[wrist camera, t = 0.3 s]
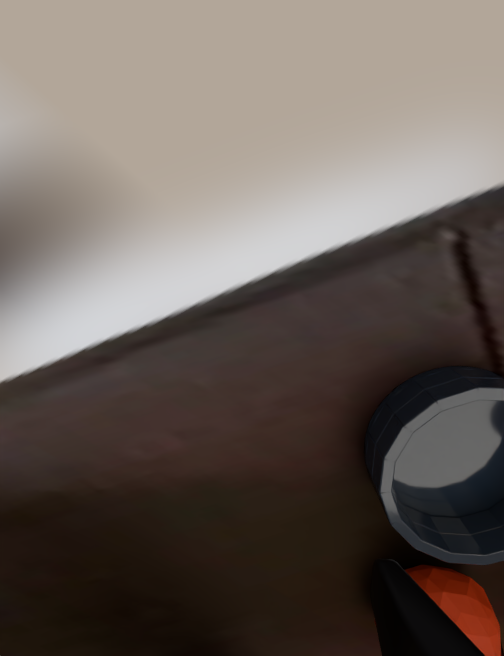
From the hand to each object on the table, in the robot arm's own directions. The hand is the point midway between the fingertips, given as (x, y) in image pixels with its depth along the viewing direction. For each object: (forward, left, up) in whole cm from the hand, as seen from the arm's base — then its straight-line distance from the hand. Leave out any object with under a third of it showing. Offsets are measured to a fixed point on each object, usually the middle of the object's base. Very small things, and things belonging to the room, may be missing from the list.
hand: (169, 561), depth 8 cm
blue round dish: (-5, -14, -14) cm, 20 cm away
